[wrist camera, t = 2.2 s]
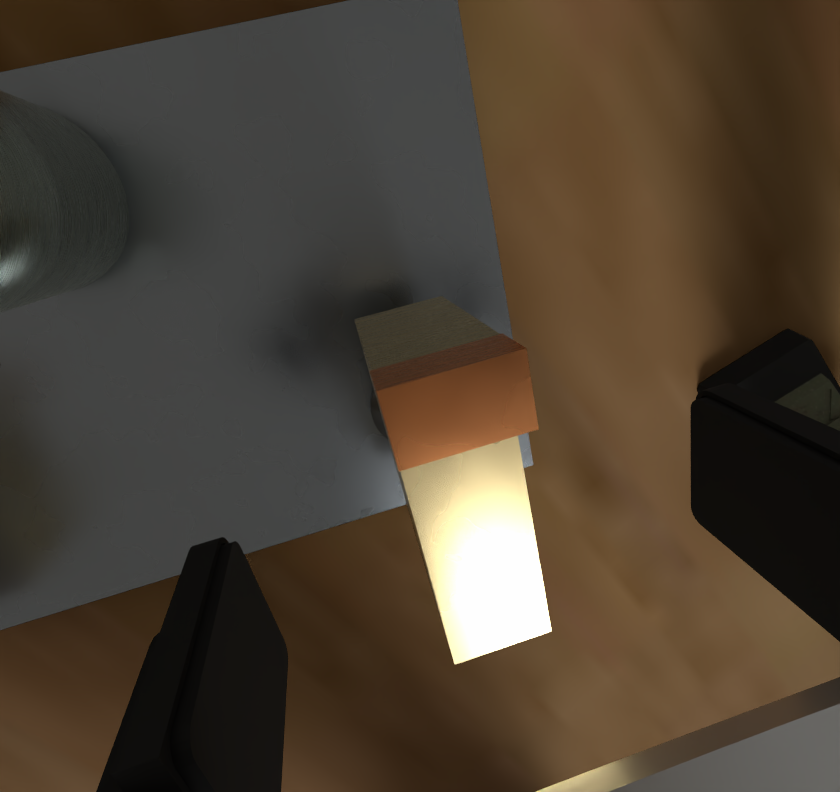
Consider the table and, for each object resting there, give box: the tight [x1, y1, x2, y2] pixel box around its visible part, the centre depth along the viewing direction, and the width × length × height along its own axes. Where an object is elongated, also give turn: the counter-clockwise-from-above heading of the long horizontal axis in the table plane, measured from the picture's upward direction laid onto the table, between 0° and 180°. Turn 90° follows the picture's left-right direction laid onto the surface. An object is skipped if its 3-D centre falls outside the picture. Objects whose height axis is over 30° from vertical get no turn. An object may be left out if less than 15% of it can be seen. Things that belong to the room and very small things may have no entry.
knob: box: [354, 296, 551, 664], centre depth 14 cm, size 8×3×8 cm, turn 13°
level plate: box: [0, 0, 533, 630], centre depth 11 cm, size 16×26×13 cm, turn 103°
